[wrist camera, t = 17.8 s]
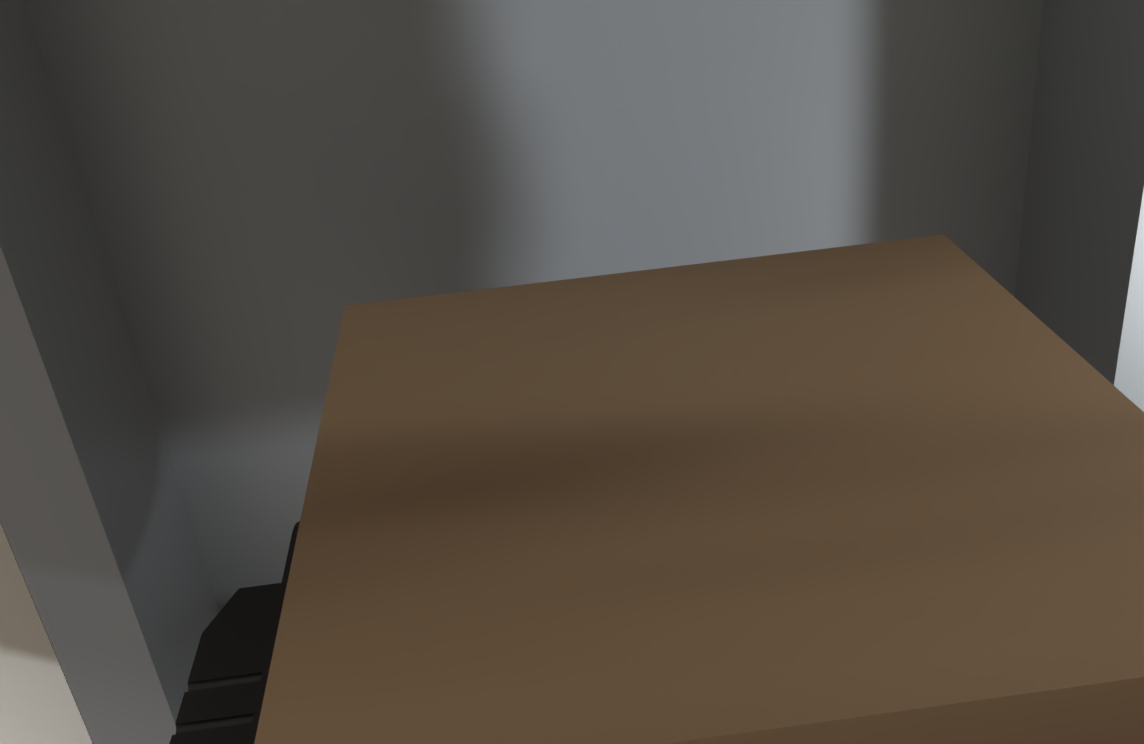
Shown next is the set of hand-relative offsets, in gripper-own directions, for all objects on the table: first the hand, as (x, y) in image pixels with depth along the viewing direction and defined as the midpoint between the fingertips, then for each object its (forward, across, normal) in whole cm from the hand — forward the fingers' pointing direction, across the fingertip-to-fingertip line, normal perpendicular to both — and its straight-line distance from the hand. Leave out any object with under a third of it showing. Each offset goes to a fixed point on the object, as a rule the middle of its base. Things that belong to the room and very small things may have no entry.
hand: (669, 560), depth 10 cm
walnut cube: (0, 0, 0) cm, 0 cm away
